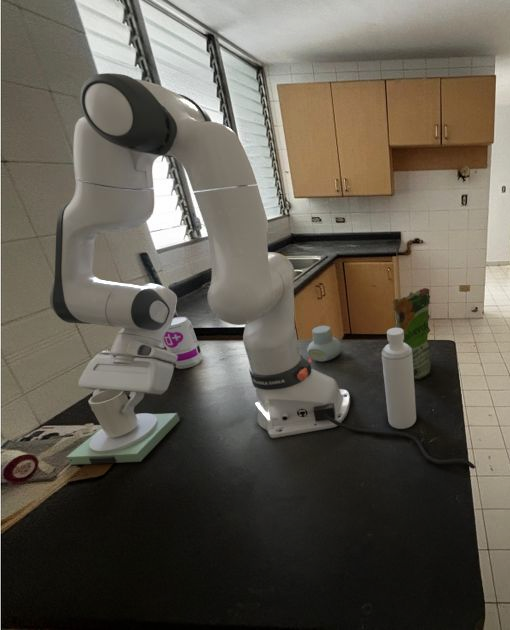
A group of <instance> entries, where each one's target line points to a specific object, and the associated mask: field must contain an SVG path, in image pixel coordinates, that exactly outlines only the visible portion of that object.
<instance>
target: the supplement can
mask: <svg viewBox="0 0 510 630" xmlns="http://www.w3.org/2000/svg"><path fill="white" fill-rule="evenodd" d="M164 346H165V347H166V350H167V351H169V352H171V353H174V354H176V355H177V356H178V358H177V361H176V362H175V363H173V364H172V365H173V367H174V368H176V369H179V370H181V369H188V368H192V367H194V366H197V365H198V364H200V363H201V362H202V360H203V357H204V356H203V353H202V350H201V347H200V345H199V342H198V339H197V336H196V332H195V330H194V327H193V324H192V322H191V320H189V319H188V317H187V316H177V317H173V320H172V323H171V325H170V328H169V329H168V330H167V332H166V333H165V336H164Z"/></svg>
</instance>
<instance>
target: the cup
mask: <svg viewBox="0 0 510 630" xmlns="http://www.w3.org/2000/svg"><path fill="white" fill-rule="evenodd" d="M128 397H129V396H127V395H126V393H125V391H118V390H104V391H101V392H99V393H97V394H95V395H94V396H93V395H92V396H91V397H90V398H89V399H88V404H89V407H90V408H91V409H92V410H93V411H92V410H91V411H92V412H93V414H94V415H95V418H96V419H97V421H98V423H99V425H100V427H101V428H102V429H103V431H104V433H105V434H106V436H107V437H117V436H121V435H124V434H126V433H128V432H130V431H131V430H133V429H134V428H135V427H136V426H137V425H138V423H139V421H138V419H137V417H136V415H135V414H136V413H135V409H134V410H133V413H132V414H123V413H120V412H119V411H120V409H121V406H122V405H125V404H126V403H127V402H128V400H129V398H128Z"/></svg>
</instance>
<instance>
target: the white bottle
mask: <svg viewBox="0 0 510 630" xmlns="http://www.w3.org/2000/svg"><path fill="white" fill-rule="evenodd" d="M386 338H387V341H388V344H386V345H385V346H383V348H382V349H381V352H380V353H381V362H382V372H383V380H384V381H383V382H384V392H385V401H386V413H387V421H388V423H389V425H390V426H391V427H392V428H394V429H397V430H405V429H409V428H410V427H412V426H413V425H414V424H415V423H416V421H417V406H416V389H415V377H414V372H413V357H412V350H411V349H412V348H411V347H410V346H409V345H407V344H406V343H403V340H404V331H403V329H401V328H395V327H391V328H389V329H387V330H386ZM409 347H410V348H409Z"/></svg>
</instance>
